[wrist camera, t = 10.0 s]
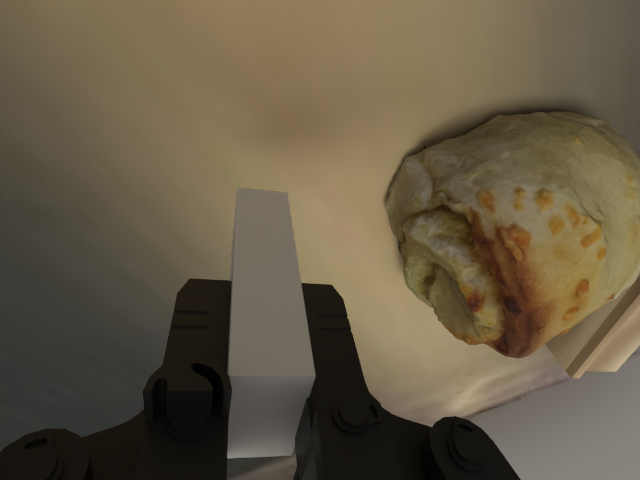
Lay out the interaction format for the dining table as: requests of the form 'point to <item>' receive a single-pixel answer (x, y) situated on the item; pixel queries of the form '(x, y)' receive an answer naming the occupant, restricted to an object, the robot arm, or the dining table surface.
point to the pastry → (519, 226)
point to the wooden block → (601, 336)
